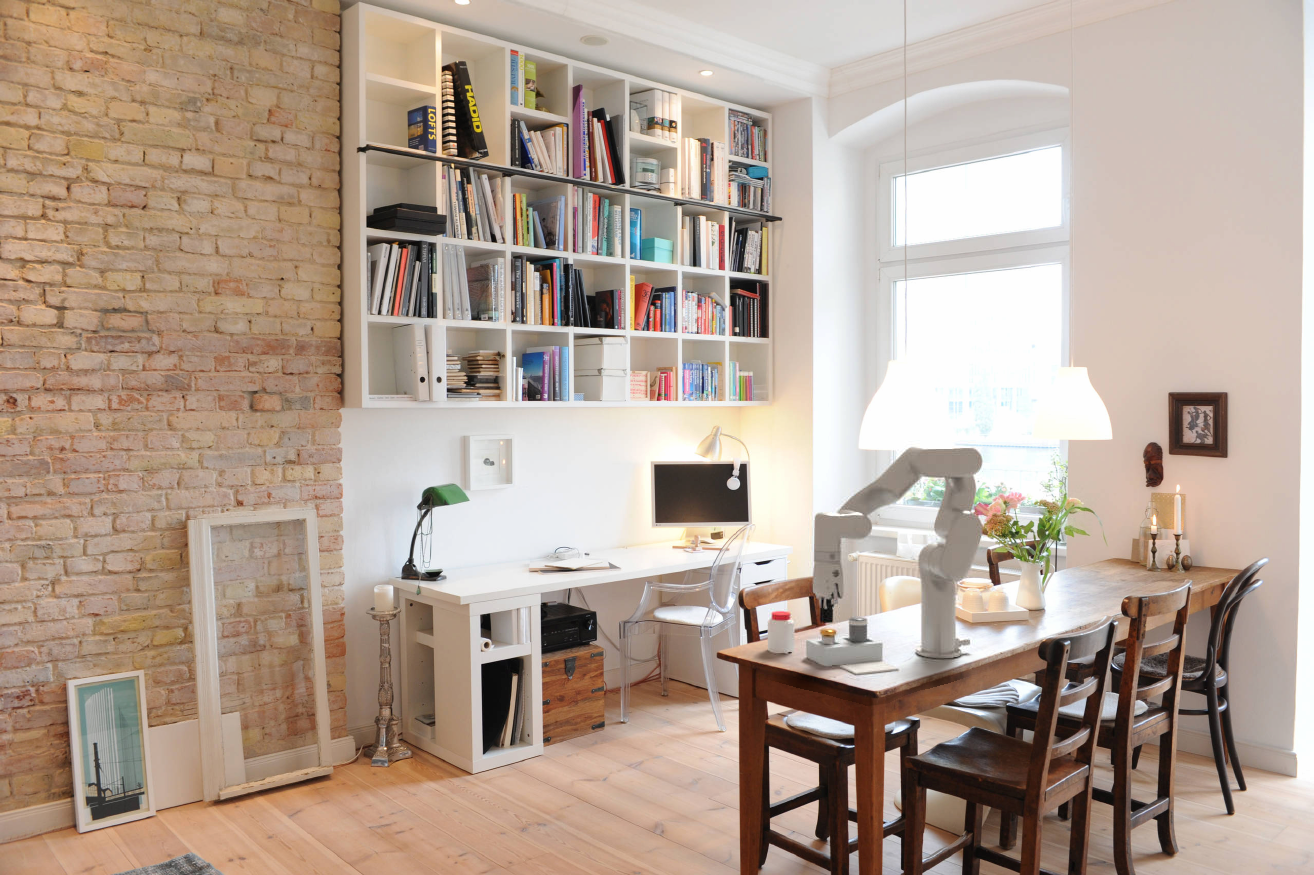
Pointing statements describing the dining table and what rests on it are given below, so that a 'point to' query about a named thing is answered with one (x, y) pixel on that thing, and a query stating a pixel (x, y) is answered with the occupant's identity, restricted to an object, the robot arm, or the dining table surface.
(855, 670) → the mat
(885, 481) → the robot arm
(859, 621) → the cylinder
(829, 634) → the plunger
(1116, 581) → the dining table surface
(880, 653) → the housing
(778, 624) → the pill bottle
